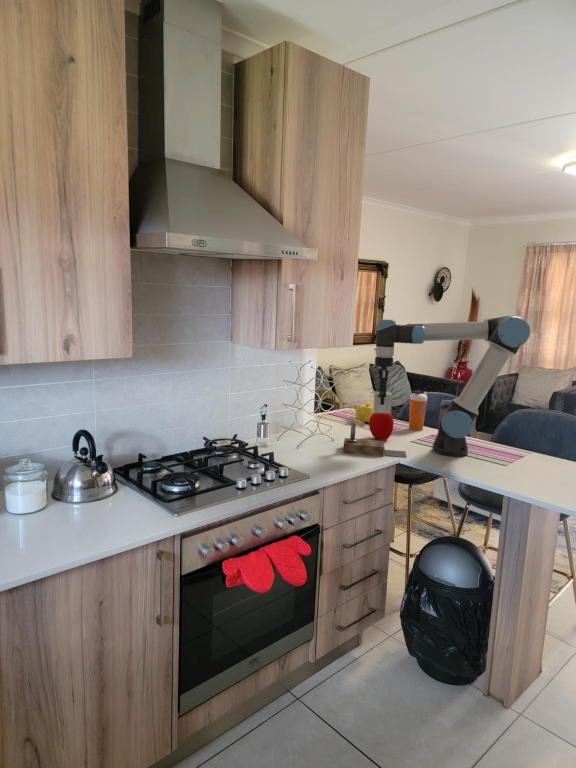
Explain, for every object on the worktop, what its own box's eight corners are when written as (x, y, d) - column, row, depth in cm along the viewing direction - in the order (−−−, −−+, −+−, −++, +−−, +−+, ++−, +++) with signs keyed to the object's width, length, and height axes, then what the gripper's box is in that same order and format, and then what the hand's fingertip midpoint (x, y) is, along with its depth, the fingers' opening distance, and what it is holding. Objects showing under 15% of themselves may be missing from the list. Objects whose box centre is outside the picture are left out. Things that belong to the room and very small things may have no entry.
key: (365, 446, 221) (367, 423, 220) (356, 446, 220) (357, 423, 218) (354, 439, 232) (356, 417, 230) (345, 439, 230) (347, 417, 229)
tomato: (387, 443, 243) (389, 413, 241) (364, 439, 249) (366, 410, 247) (396, 438, 254) (398, 409, 252) (373, 434, 260) (375, 406, 257)
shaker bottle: (403, 428, 276) (406, 390, 272) (413, 426, 282) (416, 389, 278) (418, 432, 269) (421, 393, 266) (428, 429, 275) (431, 391, 272)
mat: (404, 452, 231) (405, 451, 231) (406, 457, 222) (406, 457, 222) (384, 450, 232) (384, 449, 232) (384, 456, 223) (384, 455, 223)
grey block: (389, 410, 228) (390, 392, 227) (390, 413, 221) (392, 394, 220) (373, 409, 229) (374, 391, 228) (374, 412, 222) (375, 394, 221)
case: (382, 449, 233) (383, 441, 232) (383, 456, 223) (384, 447, 222) (344, 446, 235) (344, 437, 234) (343, 452, 225) (343, 443, 225)
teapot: (356, 424, 281) (358, 405, 280) (352, 418, 294) (353, 400, 293) (382, 424, 282) (383, 406, 280) (376, 419, 295) (378, 401, 294)
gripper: (374, 354, 232) (371, 405, 236) (375, 358, 212) (372, 414, 216) (392, 354, 231) (389, 406, 235) (394, 359, 211) (391, 415, 215)
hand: (381, 410), depth 225 cm, fingers closed on grey block, 7 cm apart
